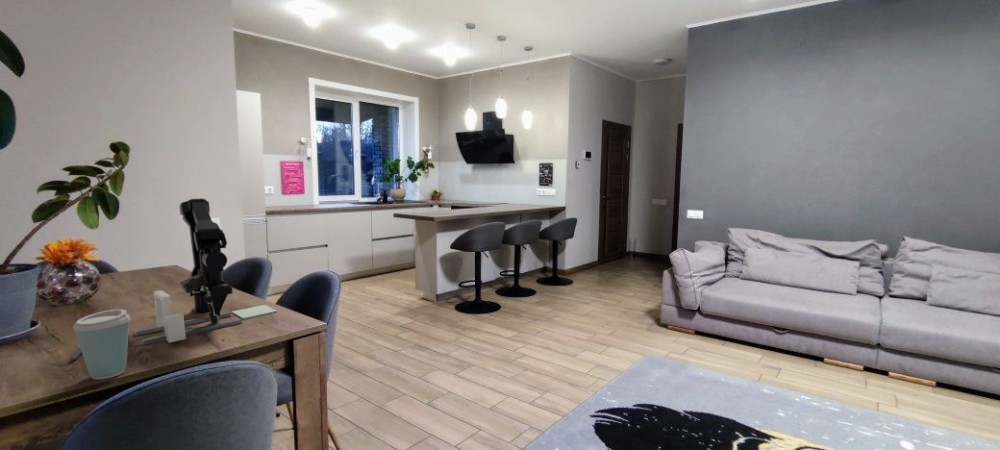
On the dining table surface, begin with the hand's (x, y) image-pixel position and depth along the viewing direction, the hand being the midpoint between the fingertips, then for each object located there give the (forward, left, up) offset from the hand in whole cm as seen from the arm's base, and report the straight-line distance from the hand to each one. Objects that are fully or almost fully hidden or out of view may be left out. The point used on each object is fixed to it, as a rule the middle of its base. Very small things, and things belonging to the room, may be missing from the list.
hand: (214, 312), depth 150 cm
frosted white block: (+4, -13, -2) cm, 14 cm away
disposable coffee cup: (+24, -30, -4) cm, 38 cm away
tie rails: (0, -7, -4) cm, 8 cm away
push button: (0, 0, -4) cm, 4 cm away
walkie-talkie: (-1, -29, -4) cm, 29 cm away
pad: (-3, +13, -4) cm, 14 cm away
